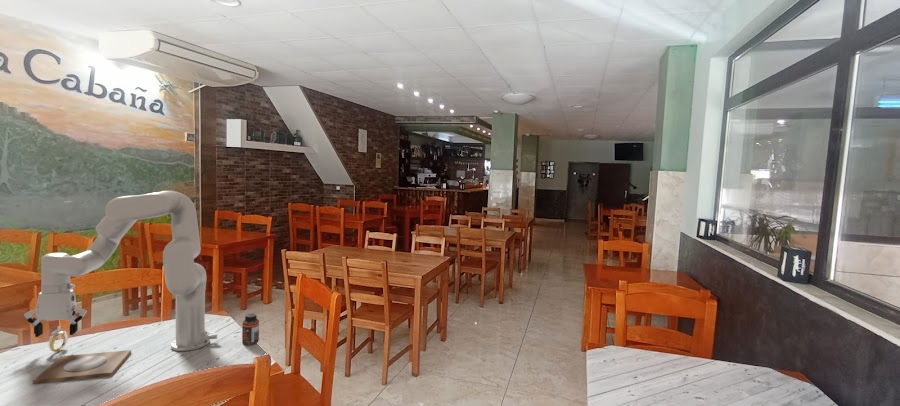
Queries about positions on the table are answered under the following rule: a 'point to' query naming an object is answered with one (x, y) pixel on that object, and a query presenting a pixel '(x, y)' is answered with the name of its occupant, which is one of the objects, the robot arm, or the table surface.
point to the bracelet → (51, 342)
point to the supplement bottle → (250, 329)
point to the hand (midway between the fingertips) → (56, 334)
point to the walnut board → (83, 366)
